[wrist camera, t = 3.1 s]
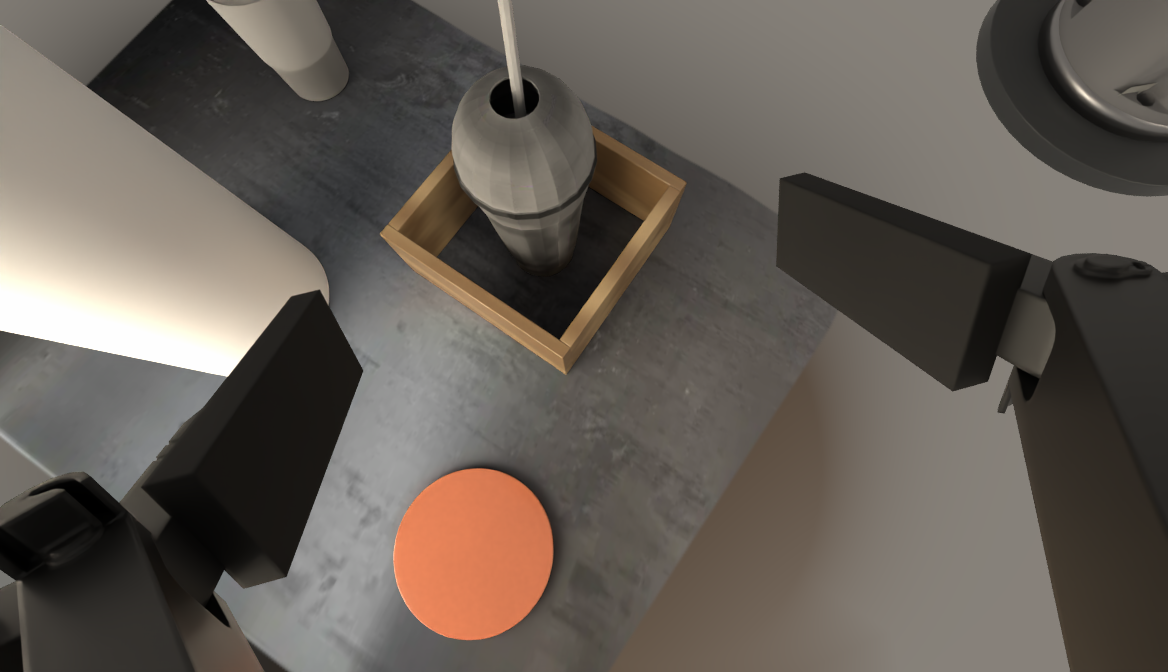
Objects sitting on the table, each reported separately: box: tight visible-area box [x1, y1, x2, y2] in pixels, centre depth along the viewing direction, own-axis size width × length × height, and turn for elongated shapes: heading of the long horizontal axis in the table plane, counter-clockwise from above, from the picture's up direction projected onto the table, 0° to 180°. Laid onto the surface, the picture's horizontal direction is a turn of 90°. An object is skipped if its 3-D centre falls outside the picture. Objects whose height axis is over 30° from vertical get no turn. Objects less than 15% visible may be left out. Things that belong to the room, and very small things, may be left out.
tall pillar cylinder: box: [0, 24, 329, 376], centre depth 22 cm, size 11×11×25 cm
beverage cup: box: [452, 0, 597, 277], centre depth 25 cm, size 7×7×20 cm
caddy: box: [380, 126, 687, 374], centre depth 32 cm, size 14×14×6 cm
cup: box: [206, 0, 349, 101], centre depth 33 cm, size 7×7×12 cm
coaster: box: [394, 468, 554, 640], centre depth 30 cm, size 10×10×1 cm
